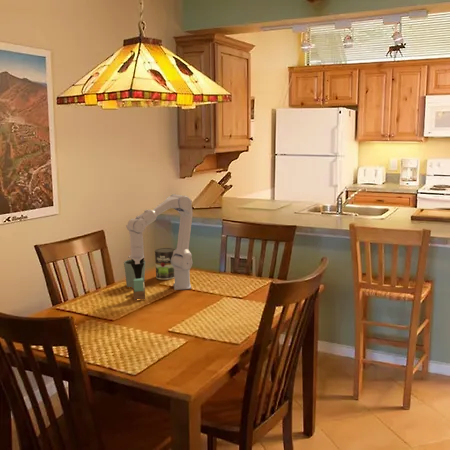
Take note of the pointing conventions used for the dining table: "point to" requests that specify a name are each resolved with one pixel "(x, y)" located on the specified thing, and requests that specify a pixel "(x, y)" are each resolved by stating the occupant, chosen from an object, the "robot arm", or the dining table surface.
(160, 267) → the coffee can
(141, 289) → the teal block
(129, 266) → the teal cup
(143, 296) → the walnut block
